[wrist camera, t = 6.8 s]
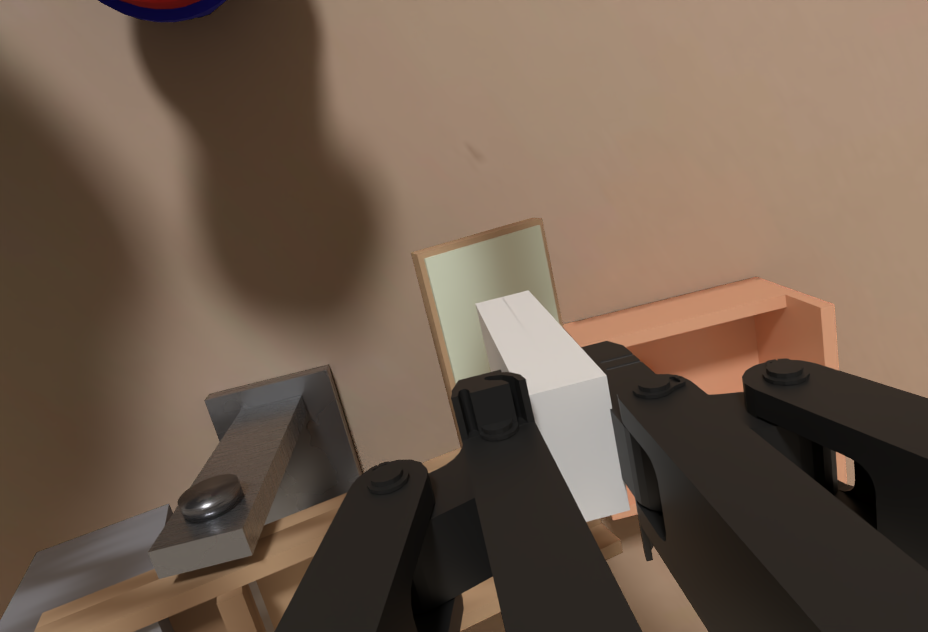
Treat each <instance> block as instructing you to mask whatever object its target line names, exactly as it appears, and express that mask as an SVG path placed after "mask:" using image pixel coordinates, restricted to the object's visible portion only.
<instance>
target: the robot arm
mask: <svg viewBox="0 0 928 632" xmlns="http://www.w3.org/2000/svg"><path fill="white" fill-rule="evenodd" d="M475 305H476V309H477V313H478V318H479V322H480V326H481V331H482V335H483V339H484V343H485V348H486V352H487V356H488V361H489V365H490V369H491V372H489V373H485V374H481V375H477V376H473V377H469V378H465V379H461V380H458V382H457V383H456V385H455V386H454V388H453V389H452V395H451V400H452V404H453V408H454V412H455V416H456V420H457V424H458V428H459V432H460V436H461V440H462V444H463V446H462V448H461V450H460V452H459V454H458V455H457V456H456V457H455V458H454V459H453V460H451V461H450V462H449V463H447V464H446V465H444V466H442V467H440V468H439V469H437V470H435V471H432V472H430V473H428V470H427V468H426V467H425V466H424V465H423V464H422V463H421V462H418V461H414V460H396V461H391V462H384V463H381V464H379V465H378V466H377V465H376V466H374V467H372V468H370V469H369V470H368V471H366V472H365V473H364V474H362V475H361V476H359V477H358V478H357V479H356V480H355V481H354V483H353V484H352V485H351V486H350V488H349V490H348V492H347V494H346V496H345V498H344V500H343V502H342V503H341V505H340V507H339V509H338V511H337V513H336V515H335V517H334V519H333V521H332V523H331V524H330V526H329V528H328V530H327V532H326V534H325V536H324V538H323V540H322V542H321V544H320V545H319V547H318V549H317V551H316V553H315V555H314V557H313V559H312V561H311V563H310V565H309V566H308V568H307V570H306V572H305V574H304V576H303V578H302V580H301V582H300V584H299V586H298V587H297V589H296V591H295V593H294V595H293V597H292V599H291V601H290V603H289V605H288V607H287V608H286V610H285V612H284V614H283V616H282V618H281V620H280V622H279V624H278V626H277V628H276V629H275V631H274V632H460V628H461V622H462V616H463V610H464V605H463V597H462V593H464V592H465V591H467V590H469V589H471V588H473V587H475V586H476V585H478V584H480V583H482V582H484V581H485V580H487V579H489V578H491V577H493V579H494V584H495V588H496V592H497V597H498V601H499V606H500V610H501V614H502V619H503V623H504V627H505V632H642V630H641V628H640V627H639V625H638V623H637V621H636V619H635V617H634V615H633V613H632V611H631V609H630V607H629V605H628V603H627V601H626V599H625V597H624V595H623V593H622V591H621V589H620V587H619V585H618V583H617V581H616V580H615V578H614V576H613V574H612V572H611V570H610V568H609V566H608V564H607V562H606V560H605V558H604V556H603V554H602V552H601V550H600V548H599V546H598V544H597V542H596V540H595V538H594V536H593V534H592V532H591V531H590V529H589V527H588V525H587V523H586V522H588V521H592V520H595V519H599V518H603V517H607V516H610V515H614V514H618V513H622V512H625V511H629V510H630V506H629V501H628V495H627V489H626V485H627V487H628V488H629V490H630V491H631V493H632V494H633V496H634V497H635V501H636V507H637V513H638V519H639V525H640V530H641V536H642V542H643V548H644V553H645V557H646V560H647V561H650V560H653V558H652V552H651V550H652V548H653V546H654V547H655V549H656V550H657V552H658V553H659V555H660V556H661V558H662V560H663V561H664V563H665V564H666V566H667V567H668V569H669V571H670V572H671V574H672V575H673V577H674V578H675V580H676V581H677V583H678V585H679V586H680V588H681V589H682V591H683V592H684V594H685V596H686V597H687V599H688V600H689V602H690V603H691V605H692V607H693V608H694V610H695V611H696V613H697V614H698V616H699V617H700V619H701V621H702V622H703V624H704V625H705V627H706V628H707V630H708V632H928V398H925V397H922V396H918V395H915V394H912V393H909V392H906V391H903V390H899V389H896V388H893V387H890V386H887V385H883V384H880V383H877V382H874V381H871V380H868V379H864V378H861V377H858V376H855V375H852V374H848V373H845V372H842V371H839V370H836V369H833V368H829V367H826V366H823V365H820V364H817V363H812V362H807V361H802V360H790V359H787V358H783V359H778V360H776V359H773V360H768V361H766V362H764V363H761V364H757V365H754V366H753V367H751V368H749V369H747V370H746V371H745V373H744V374H743V376H742V382H743V391H744V392H736V393H725V394H711V395H708V394H707V393H705V392H704V391H703V390H702V389H700V388H699V387H698V386H697V385H696V384H694V383H693V382H692V381H690V380H688V379H686V378H684V377H682V376H678V375H672V374H655V373H654V372H653V371H652V370H651V369H650V368H649V367H647V366H646V365H645V364H644V363H643V362H640V359H638V358H637V357H636V356H635V355H633V353H632V352H630V351H629V350H628V349H627V348H626V347H625V346H624V345H620V344H617V343H613V342H610V341H604V342H600V343H596V344H592V345H588V346H584V347H580V346H579V345H578V344H577V343H576V342H575V340H574V339H573V338H572V337H571V336H570V335H569V334H568V333H567V332H566V331H565V330H564V328H563V327H562V326H561V325H560V324H559V323H558V322H557V321H556V320H555V319H554V318H553V316H552V315H551V314H550V313H549V312H548V311H547V310H546V309H545V308H544V307H543V306H542V304H541V303H540V302H539V301H538V300H537V299H536V298H535V297H534V296H533V295H532V294H531V292H530V291H529V290H528V291H524V292H520V293H516V294H512V295H508V296H504V297H500V298H496V299H492V300H488V301H484V302H480V303H476V304H475ZM836 452H838V453H840V454H842V455H844V456H847V457H849V458H851V459H852V460H854V467H855V485H854V486H850V485H847V484H845V483H843V482H841V481H839V480H838V477H837V462H836Z"/></svg>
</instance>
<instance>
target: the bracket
mask: <svg viewBox="0 0 928 632" xmlns="http://www.w3.org/2000/svg"><path fill="white" fill-rule="evenodd" d="M205 403H206V406H207V408H208V411H209V414H210V417H211V419H212V422H213V425H214V427H215V430H216V433H217V435H218V438H219V441H220V443H219V444H218V446H217V447H216V449H215V450H214V452H213V453H212V455H211V456H210V458H209V459H208V461H207V462H206V464H205V466H204V467H203V469H202V470H201V472H200V473H199V475H198V476H197V478H196V479H195V481H194V482H193V484H192V485H191V487H190V488H189V489H188V490H186V491H185V492H184V493H183V494H182V495H181V496H180V498H179V499H178V507H177V508H176V510H175V511H174V513H173V514H172V516H171V517H170V519H169V521H168V522H167V524H166V525H165V527H164V528H163V530H162V531H161V533H160V534H159V536H158V537H157V539H156V540H155V542H154V543H153V545H152V546H151V548H150V550H149V551H148V555H149V557H150V559H151V562H152V564H153V566H154V569H155V571H156V573H157V576H158V578H159V579H161V578H165V577H169V576H173V575H177V574H181V573H185V572H189V571H193V570H197V569H201V568H205V567H209V566H213V565H217V564H221V563H225V562H229V561H232V560H236V559H240V558H244V557H248V556H252V555H253V553H254V550H255V547H256V545H257V542H258V540H259V537H260V535H261V532H262V529H263V527H264V525H266V524H269V523H271V522H274V521H277V520H279V519H282V518H284V517H287V516H289V515H292V514H294V513H297V512H299V511H302V510H304V509H307V508H309V507H312V506H314V505H317V504H320V503H322V502H325V501H327V500H330V499H332V498H335V497H337V496H340V495H342V494H345V493H347V492H348V490H349V488H350V486H351V485H352V484H353V483H354V481H355V480H356V479H357V478H358V477H359V476H361V475H362V471H361V468H360V465H359V461H358V458H357V455H356V452H355V448H354V445H353V442H352V439H351V435H350V432H349V429H348V426H347V422H346V419H345V416H344V413H343V409H342V406H341V403H340V400H339V396H338V393H337V390H336V387H335V383H334V380H333V377H332V374H331V370H330V367H329V365H325V366H321V367H317V368H313V369H309V370H305V371H301V372H297V373H293V374H289V375H285V376H281V377H277V378H273V379H269V380H265V381H261V382H257V383H253V384H248V385H244V386H240V387H236V388H232V389H228V390H224V391H220V392H216V393H212V394H209V395H208V397H207V398H206V399H205Z"/></svg>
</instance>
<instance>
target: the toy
mask: <svg viewBox="0 0 928 632" xmlns="http://www.w3.org/2000/svg"><path fill="white" fill-rule="evenodd" d="M98 1H100V2H101V3H103V4H105V5H107V6H109V7H111V8H113V9H115V10H117V11H119V12H121V13H123V14H125V15H128V16H131V17H135V18H138V19H141V20H147V21H153V22H179V21H184V20H190V19H193V18H200V17H203V16H206V15H209V14H211V13H212V12H213V11H214V10H216V9H217V8H218V7H219V6H220V5H222V4H223V3H224V2H225V1H226V0H98Z"/></svg>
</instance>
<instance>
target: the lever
mask: <svg viewBox="0 0 928 632" xmlns="http://www.w3.org/2000/svg"><path fill="white" fill-rule="evenodd" d="M411 255H412V259H413V263H414V267H415V270H416V274H417V278H418V282H419V286H420V290H421V294H422V298H423V302H424V306H425V310H426V313H427V317H428V321H429V325H430V329H431V333H432V337H433V341H434V345H435V349H436V352H437V356H438V360H439V364H440V368H441V372H442V376H443V380H444V384H445V388H446V392H447V395H448V399H449V403H450V407H451V411H452V415H453V419H454V423H455V427H456V431H457V435H458V438H459V442H460V446H461V448H462V446H463V444H462V440H461V436H460V432H459V428H458V424H457V420H456V416H455V412H454V408H453V404H452V400H451V395H452V389H453V388H454V386H455V385H456V383H457V382H458V380H461V379H465V378H469V377H473V376H477V375H481V374H485V373H489V372H491V369H490V365H489V361H488V356H487V352H486V348H485V343H484V339H483V335H482V331H481V326H480V322H479V318H478V313H477V309H476V305H475V304H476V303H480V302H484V301H488V300H492V299H496V298H500V297H504V296H508V295H512V294H516V293H520V292H524V291H528V290H529V291H530V292H531V294H532V295H533V296H534V297H535V298H536V299H537V300H538V301H539V302H540V303H541V304H542V306H543V307H544V308H545V309H546V310H547V311H548V312H549V313H550V314H551V315H552V316H553V318H554V319H555V320H556V321H557V322H558V323H559V324H560V325H561V326H562V327H563V324H562V319H561V314H560V309H559V304H558V298H557V293H556V288H555V283H554V278H553V273H552V268H551V263H550V257H549V252H548V247H547V242H546V237H545V232H544V227H543V222H542V218H530V219H526V220H523V221H519V222H516V223H512V224H509V225H505V226H502V227H498V228H495V229H492V230H488V231H485V232H481V233H478V234H474V235H471V236H467V237H464V238H460V239H457V240H453V241H450V242H447V243H443V244H440V245H436V246H433V247H429V248H426V249H422V250H419V251H415V252H412V253H411ZM461 448H459V449H456V450H454V451H451V452H449V453H446V454H444V455H441V456H439V457H436V458H433V459H431V460H428V461H426V462H423V463H422V464H423V465H424V466H425V467H426V468H427V470H428V473H430V472H432V471H435V470H437V469H439V468H440V467H442V466H444V465H446V464H447V463H449V462H450V461H451V460H453V459H454V458H455V457H456V456H457V455H458V454H459V452H460V450H461ZM346 494H347V493H345V494H342V495H340V496H337V497H335V498H332V499H330V500H327V501H325V502H322V503H320V504H317V505H314V506H312V507H309V508H307V509H304V510H302V511H299V512H297V513H294V514H292V515H289V516H287V517H284V518H282V519H279V520H277V521H274V522H271V523H269V524H266V525H264V527H263V529H262V532H261V535H260V537H259V540H258V542H257V545H256V547H255V550H254V553H253V555H252V556H248V557H244V558H240V559H236V560H232V561H229V562H225V563H221V564H217V565H213V566H209V567H205V568H201V569H197V570H193V571H189V572H185V573H181V574H177V575H173V576H169V577H165V578H161V579H159V578H158V576H157V573H156V571H155V569H154V566H153V564H152V562H151V559H150V557H149V555H148V551H149V550H150V548H151V546H152V545H153V543H154V542H155V540H156V539H157V537H158V536H159V534H160V533H161V531H162V530H163V528H164V527H165V525H166V524H167V522H168V521H169V519H170V517H171V516H172V514H173V512H172V510H171V507H170V505H169V504H167V505H164V506H161V507H158V508H156V509H153V510H150V511H148V512H145V513H142V514H140V515H137V516H134V517H131V518H129V519H126V520H123V521H121V522H118V523H115V524H112V525H110V526H107V527H104V528H102V529H99V530H96V531H93V532H91V533H88V534H85V535H83V536H80V537H77V538H74V539H72V540H69V541H66V542H64V543H61V544H58V545H55V546H53V547H50V548H47V549H45V550H42V551H39V552H37V553H36V555H35V556H34V558H33V560H32V562H31V564H30V566H29V568H28V570H27V571H26V573H25V575H24V577H23V579H22V581H21V583H20V584H19V586H18V588H17V590H16V592H15V594H14V596H13V598H12V599H11V601H10V603H9V605H8V607H7V609H6V611H5V612H4V614H3V616H2V618H1V620H0V632H274V631H275V629H276V628H277V626H278V624H279V622H280V620H281V618H282V616H283V614H284V612H285V610H286V608H287V607H288V605H289V603H290V601H291V599H292V597H293V595H294V593H295V591H296V589H297V587H298V586H299V584H300V582H301V580H302V578H303V576H304V574H305V572H306V570H307V568H308V566H309V565H310V563H311V561H312V559H313V557H314V555H315V553H316V551H317V549H318V547H319V545H320V544H321V542H322V540H323V538H324V536H325V534H326V532H327V530H328V528H329V526H330V524H331V523H332V521H333V519H334V517H335V515H336V513H337V511H338V509H339V507H340V505H341V503H342V502H343V500H344V498H345V496H346ZM586 523H587V525H588V527H589V529H590V531H591V532H592V534H593V536H594V538H595V540H596V542H597V544H598V546H599V548H600V550H601V552H602V554H603V556H604V558H605V560H608V559H610V558H612V557H614V556H616V555H618V554H620V553H622V552H623V551H622V546H621V540H620V539H619V538H618V537H616V536H615V535H614V534H613V533H612V532H611V531H610V530H608V529H607V528H606V527H605V526H604V525H603V524H602V523H601V518H599V519H595V520H592V521H588V522H586ZM462 597H463V605H464V610H463V616H462V622H461V628H460V631H462V630H464V629H466V628H468V627H471V626H473V625H475V624H477V623H479V622H481V621H483V620H485V619H487V618H489V617H491V616H493V615H495V614H497V613H499V612H501V610H500V606H499V601H498V597H497V592H496V588H495V584H494V579H493V577H491V578H489V579H487V580H485V581H484V582H482V583H480V584H478V585H476V586H475V587H473V588H471V589H469V590H467V591H465V592H464V593H462Z"/></svg>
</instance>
